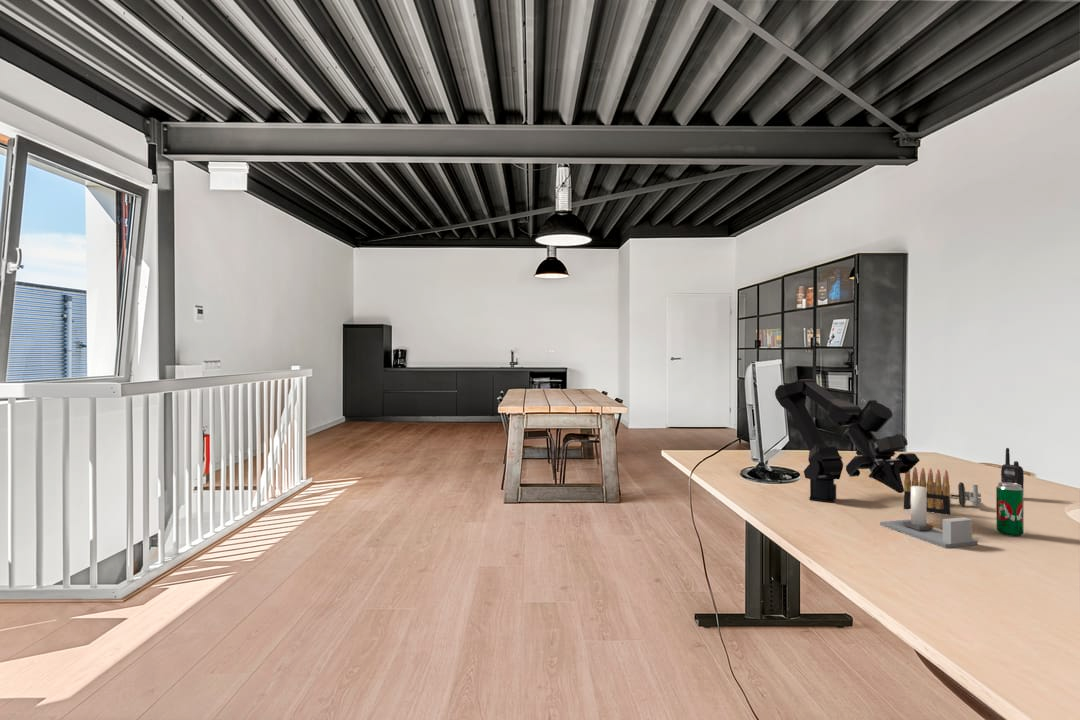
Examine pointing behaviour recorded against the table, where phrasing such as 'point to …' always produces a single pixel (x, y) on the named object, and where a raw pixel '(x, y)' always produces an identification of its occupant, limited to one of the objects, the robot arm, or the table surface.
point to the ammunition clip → (929, 491)
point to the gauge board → (940, 532)
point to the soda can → (1010, 509)
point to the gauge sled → (918, 510)
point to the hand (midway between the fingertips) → (901, 492)
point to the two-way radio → (1012, 471)
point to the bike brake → (966, 495)
